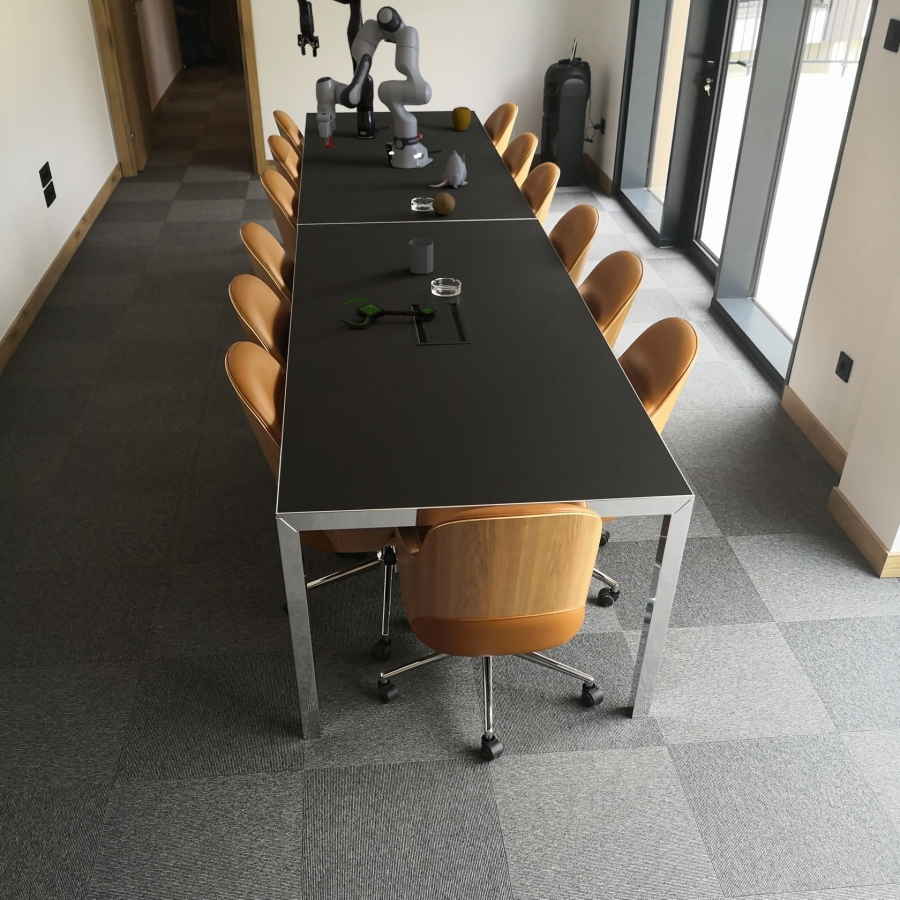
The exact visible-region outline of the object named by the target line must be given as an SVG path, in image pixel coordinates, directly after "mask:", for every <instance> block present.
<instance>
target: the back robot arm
mask: <svg viewBox="0 0 900 900" xmlns="http://www.w3.org/2000/svg"><path fill="white" fill-rule="evenodd" d="M333 1H334V2H336V3H339V4H341V5H349V12H350V13H349V19H348V24H347V27H346V38H347V43H348V49H349V54H350V58H351V63H352V74H353V76H354V74H355V71H356V68H357V62H356V60H355V59H354V57H353V55H352V52H351V48H352V44H353V41H354V39H355V37H356V35H357V33H358V32H359V30H360V28H361V27H362V25H363V24H364V20H363V12H362V11H363V10H362V0H332V2H333ZM296 2H297V3H298V5H297V6H298V11H299V12H298V13H299V14H298V15H299V16H298V17H299V18H298V19H299V30H300V31H299V32H300V33H298V34H296V35H297V47H299V48H300V53H301V56H302V57H303V56H306V55H307V53H306V46H307V45H309V46H310V47H311V48H312V57H313V58H317V57H318V49H320V39H319V35H315V32H316V31H315V20H314V12H313V4H312V2H311V1H309V0H296ZM374 83H375V82H374V79H373V77H372V75H371V74H370V73H369V74H368V77H367V80H366V82H365V85H364V88H363V91H362V98H361V102H360V104H359V105H358V106H357V107H356V108H355V109H356V125H357V127H356V129H357V138H358V139H361V140H362V139H363V140H369V139H370V140H371V139H374V138H376V132H377V133H378V132H379V130H383V129H389V128H390V125H387V126H380V127H378V128H376V118H375V112H374V109H375V108H374V100H375V86H374Z"/></svg>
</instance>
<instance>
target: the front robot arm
mask: <svg viewBox="0 0 900 900" xmlns="http://www.w3.org/2000/svg"><path fill="white" fill-rule="evenodd" d="M419 38H420V37H419V32H418V30H417V29H416V28H415V27H413V26H411V25H406V24H405V21H404V19H403V17H402V15H400V14H399V12H398V11H397V9H396V8H394V7H392V6H390V5H385V6H382V7H381V8H380V9H379V10H378V11H377V13H376V19H372V18H369V19H366V20H365V21H364V22H363V25H362V27H361V28H360V30H359V32H358V33H357V35H356V37H355V39H354V41H353V44H352V48H351V52H352V55H353V57H354V59H355V60H356V62H357V68H356V71H355V74H354V76H353V77H352V79H351V81H350V83H349V84H346V83H343V82H340V81H338V80H335V79H333V78H332V77H331V76H322V77H320V78H318V79H317V80H316V83H315V99H316V102H317V103H316V116H315V117H316V122H317V127H318V134H319V137H320V139H323V140H324V139H325V144H326V145H329V144H330V141H329V137H333V132H334V131H335V130H336V129H337V128H336V127H337V126H336V124H337V123H336V118H337V112H336V111H337V110H336V109H337V108H336V105H340V106H343V107H345V108H347V109H348V110H349V109H350V110H353V109H356V107H357V106H358V105H359V104H360V102H361V98H362V91H363V88H364V85H365V82H366V80H367V77H368V74H369V75H370V71H371V69H372V64H373V59H374V56H375V53H376V51H377V48H378V47H379V44H380V43H381V42H382V41H384V42H386V43H391V44H394V45H395V53H394V55H395V56H394V67H395V69H396V71H397V72H398V73H400V74H401V75H403V76H405V77H406V79H389V80H385V81H381V82H380V84H378V87H377V97H378V99H379V101H380V102H381V103H382V104H383V105H384V106H385V107H386V108H387V109H388V110H389V112H390V115H391V117H392V122H393V133H394V134H393V138H392V140H393V145H392V148H391V150H392V151H390V152H389V155H391V160H390V161H389V162H390V164H391V166H392V167H394V168H398V169H416V168H417V169H421V168H424V167H426V166H427V165H428V164H430V163H432V162H433V158H431V157H429V154H431V153H441V152H442V149H436V150H428V149H427V146H424V145H423V144H422V143H421V142H420V140H421V139H422V138H423V134H422V133H418V120H417V118H416V116H415V115H414V114H413V113H411V112H409V111H408V110H407V109H406V108H405V106H424V105H427V104H429V103H430V101H431V99H432V97H433V91H432V90H433V89H432V88H431V85H430V84H429V82H428V81H426V80H425V79H424V78H423V76H422V74H421V72H420V66H419V65H420V64H419V63H420V61H419V60H420V59H419V56H420V39H419ZM325 144H324V145H325Z"/></svg>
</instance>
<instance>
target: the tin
mask: <svg viewBox="0 0 900 900" xmlns="http://www.w3.org/2000/svg"><path fill="white" fill-rule="evenodd" d="M329 141H330V144H329V145H326V144H325V139H324V138H323V144H324V148H325V149H333V148H334V137H333V136H332V137H329Z"/></svg>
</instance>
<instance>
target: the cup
mask: <svg viewBox="0 0 900 900" xmlns="http://www.w3.org/2000/svg"><path fill="white" fill-rule="evenodd" d="M408 253H409V272H411V273H412V274H416V275H426V274H430V273H432V272H434V241H433V240H431V239H428V238H422V237H421V238H420V237H419V238H414V239H411V240H410V241H409V242H408Z"/></svg>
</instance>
